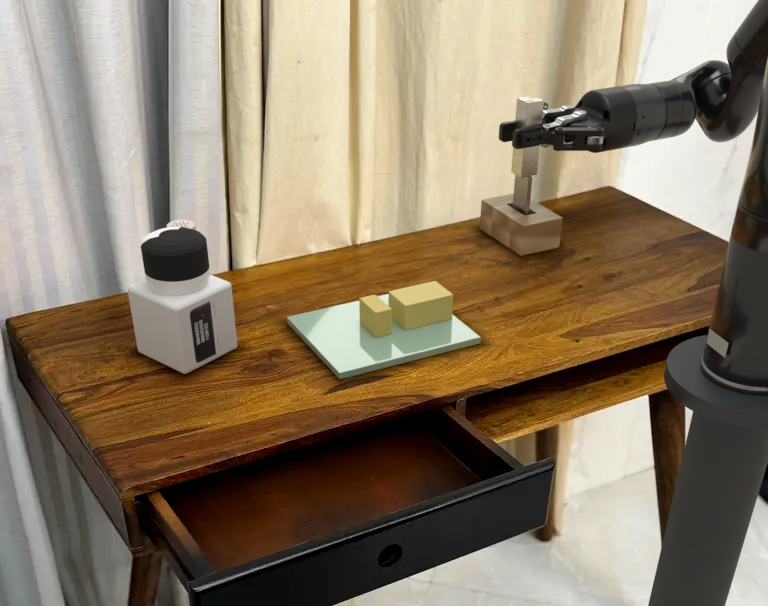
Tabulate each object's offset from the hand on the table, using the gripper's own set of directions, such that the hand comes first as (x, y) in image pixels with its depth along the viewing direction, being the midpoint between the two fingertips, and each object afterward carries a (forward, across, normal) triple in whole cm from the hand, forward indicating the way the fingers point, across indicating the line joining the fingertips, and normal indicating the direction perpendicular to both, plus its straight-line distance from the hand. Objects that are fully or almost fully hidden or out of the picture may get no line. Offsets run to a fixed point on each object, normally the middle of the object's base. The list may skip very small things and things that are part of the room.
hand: (507, 136), depth 120 cm
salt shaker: (+42, -1, +14) cm, 44 cm away
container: (+45, +9, +14) cm, 48 cm away
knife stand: (-3, 0, +14) cm, 14 cm away
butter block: (+20, +15, +13) cm, 28 cm away
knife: (-3, 0, +11) cm, 11 cm away
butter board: (+25, +15, +14) cm, 32 cm away
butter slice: (+26, +15, +13) cm, 33 cm away
